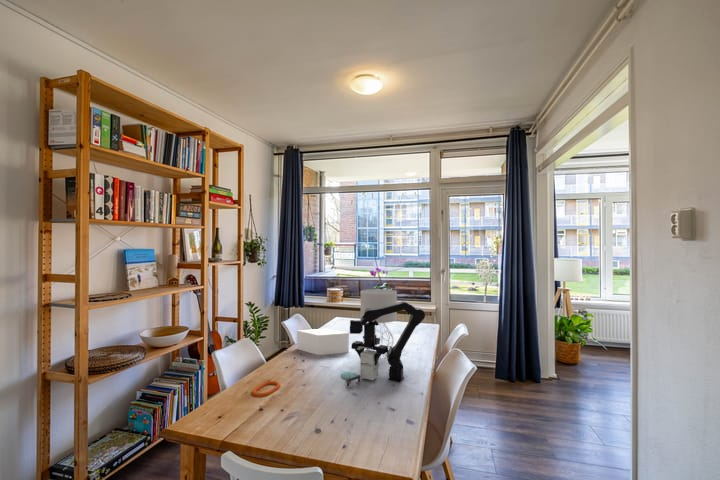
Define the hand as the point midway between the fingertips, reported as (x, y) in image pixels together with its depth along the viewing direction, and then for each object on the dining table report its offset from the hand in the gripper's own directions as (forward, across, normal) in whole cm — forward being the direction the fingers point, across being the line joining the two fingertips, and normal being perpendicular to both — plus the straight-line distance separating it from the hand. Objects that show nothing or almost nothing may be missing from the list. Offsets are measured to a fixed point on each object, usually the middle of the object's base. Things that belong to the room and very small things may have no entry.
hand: (369, 364), depth 166 cm
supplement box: (+7, 0, 0) cm, 7 cm away
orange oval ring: (+8, +37, +35) cm, 52 cm away
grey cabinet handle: (+8, +5, +10) cm, 13 cm away
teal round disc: (+8, +11, +2) cm, 14 cm away
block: (+8, +48, -25) cm, 54 cm away
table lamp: (+8, +11, -33) cm, 36 cm away
